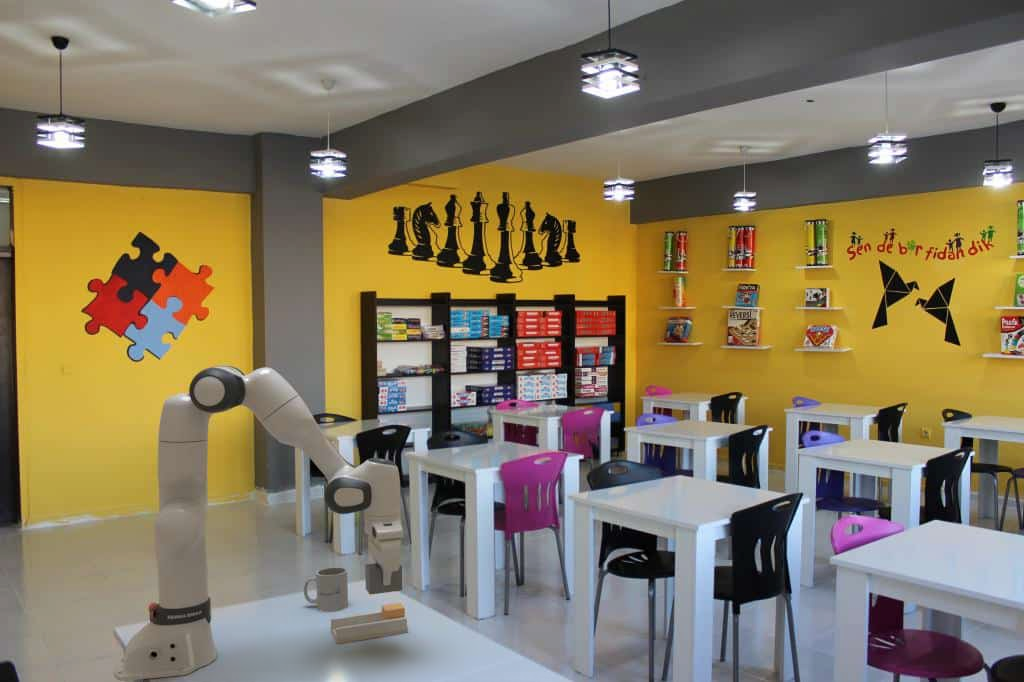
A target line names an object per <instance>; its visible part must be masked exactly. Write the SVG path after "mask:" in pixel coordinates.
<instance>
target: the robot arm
mask: <svg viewBox="0 0 1024 682" xmlns="http://www.w3.org/2000/svg"><path fill="white" fill-rule="evenodd" d="M239 406H243V407H246V409H248V410H250V411H251V412H252V413H253V414H254V416H255V417H256V418H257V420H258V421H259V422H260V423H261V425H262V427H264V428H265V430H266V431H267V432H268V433H269V434H270V435H271V436H272V437H273V438H274V439H275V440H277V442H279V443H280V444H284V445H286V446H287V445H288V446H291V447H295V448H297V449H299V450H300V451H302V452H303V453H304V454H306V455H307V456H308V457H309V459H310V460H311V461H312V462H313V463H314V465H315V466H316V467H317V468H318V470H319V471H320V472H322V474H323V475H324V476H325V478H326V480H327V483H328V484H327V486H325V490H324V496H323V497H324V501H325V503H326V506H327V507H328V508H329V509H330V510H331V511H332V512H334V513H335V514H339V515H348V514H352V513H357V512H361V511H363V513H364V519H363V520H364V533H365V534H366V535H368V542H367V543H368V546H367V547H368V554H370V556H371V558H373V559H374V564H375V563H378V564H379V566H380V567H381V568H382V571H383V577H382V583H383V584H384V585H390V584H391V574H392V572H393V571H398V570H399V567H400V564H401V558H402V557H401V553H402V540H401V538H403V537H404V529H403V526H402V519H401V518H402V517H401V513H402V512H401V511H402V510H401V507H400V503H399V502H400V498H401V480H400V478H401V477H400V472H399V467H398V465H397V464H396V463H394V461H392V460H390V459H386V458H379V457H372V458H368V459H367V460H365V461H364V462H363V463H362V464H359V465H358V466H355V465H353V464H351V463H350V462H348V461H347V460H346V459H345V458H344V457H343V456H342V454H341V453H340V452H339V451H338V450H337V449H336V447H335V446H334V445H333V444H332V443H331V441H330V440H329V439H328V437H326V436H325V434H324V433H323V431H322V430H321V428H320V425H318V423H317V421H316V420H315V418H314V415H313V414H312V412H311V411H310V409H309V407H308V406H307V404H306V402H304V400H303V399H302V397H301V395H299V393H298V392H297V391H296V390H295V388H294V387H293V386H292V385H291V384H290V383H289V382H288V381H287V380H286V379H285V377H283V376H282V375H281V374H280V373H279V372H277V371H276V370H275V369H273V368H271V367H267V366H266V367H260V368H257V369H255V370H253V371H251V372H250V373H248V374H246V375H245V373H244V372H243V371H241V369H239V368H237V367H235V366H233V365H215V366H212V367H208V368H204V369H202V370H200V371H199V372H198V373H197V374H196V375H195V376H194V377H193V378H192V380H191V381H190V383H189V388H188V392H181V393H176V394H174V395H171V396H169V397H168V398H167V399H166V400H164V403H163V405H162V408H161V409H162V410H161V413H160V414H161V415H160V419H159V425H158V427H159V428H158V437H157V438H158V442H157V443H158V446H157V483H158V513H157V515H156V517H155V518H154V520H153V521H154V522H153V541H154V550H155V561H156V566H157V567H156V568H157V587H158V603H157V602H151V603H150V604H149V605H148V609H147V610H148V612H149V622H148V623H146V624H145V625H144V626H143V627H142V628H141V629H140V630H138V631H137V632H136V633H135V634H134V635H133V636H132V637H131V638H130V639H129V640H128V643H127V645H126V647H125V652H124V655H123V656H124V657H122V658H121V659H119V660H118V661H117V662H116V664H115V665H114V666H115V667H114V669H113V676H114V678H115V679H116V680H117V681H119V682H123V681H124V682H127V681H134V680H135V681H137V680H146V679H157V678H166V677H176V676H178V677H179V676H185V675H189V674H191V673H193V672H194V671H195V670H197V669H200V668H203V667H204V666H207V665H209V664H211V663H212V662H213V661H215V660H216V659H217V658H218V656H219V655H218V652H217V648H216V645H215V642H214V637H213V633H212V626H211V621H212V602H211V601H212V600H211V597H210V596H209V576H208V575H209V574H208V571H209V570H208V558H207V546H206V544H207V543H206V523H207V520H208V453H209V452H208V451H209V450H208V449H209V447H208V446H209V422H210V419H211V417H212V416H213V415H214V414H219V413H224V412H228V411H231V410H232V409H234V408H236V407H239Z"/></svg>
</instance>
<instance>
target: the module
mask: <svg viewBox="0 0 1024 682" xmlns="http://www.w3.org/2000/svg"><path fill="white" fill-rule="evenodd" d="M364 566H365V570H364V571H365V590H366V591H367V593H368V594H369V595H370V596H371V595H377V594H385V593H393V592H394V593H395V592H402V591H403V565H402V564H401V563H400V567H399V570H398V571H393V572H392V574H391V584H390V585H384V584H383V583H382V577H383V571H382V568H381V567H380V566H379V564H378V563H375V562H374V563H367V564H364Z"/></svg>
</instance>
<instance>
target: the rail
mask: <svg viewBox="0 0 1024 682" xmlns="http://www.w3.org/2000/svg"><path fill="white" fill-rule="evenodd" d="M405 610H406V608H405V607H404V605H403V604H402V603H401V602H395V603H390V604H382V605H381V610H380V611H373V612H364V613H360V614H352V615H345V616H340V617H331V618H330V633H331V635H332V636H334V637H333V639H334V640H336V641H335V644H336V645H338V644H345V643H350V642H356V641H357V640H358V641H362V640H370V639H375V638H376V637H377V638H382V636H383V637H387V636H394V635H401V634H407V633H409V632H408V618H407V616H406V611H405ZM358 641H357V642H358Z"/></svg>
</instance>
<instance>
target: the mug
mask: <svg viewBox="0 0 1024 682" xmlns="http://www.w3.org/2000/svg"><path fill="white" fill-rule="evenodd" d="M312 581H314V582H316V583H315V584H316V598H314V599H313V598H310V597H309V594H308V585H309V583H310V582H312ZM348 588H349V587H348V569H347V568H345V567H340V566H337V567H335V566H333V567H331V566H330V567H326V568H322V569H319V570H317V571H316V572H315V576H311V577H308V578H307V579H306V580H305V583H304V585H303V596H304V598H305V600H306V601H307V603H310V604H316V607H317V608H316V609H317V610H318V611H320V610H321V612H327V613H328V612H337V611H341V610H344V609H346V608H348V607H349V596H348V595H349V592H348V590H349V589H348Z"/></svg>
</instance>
